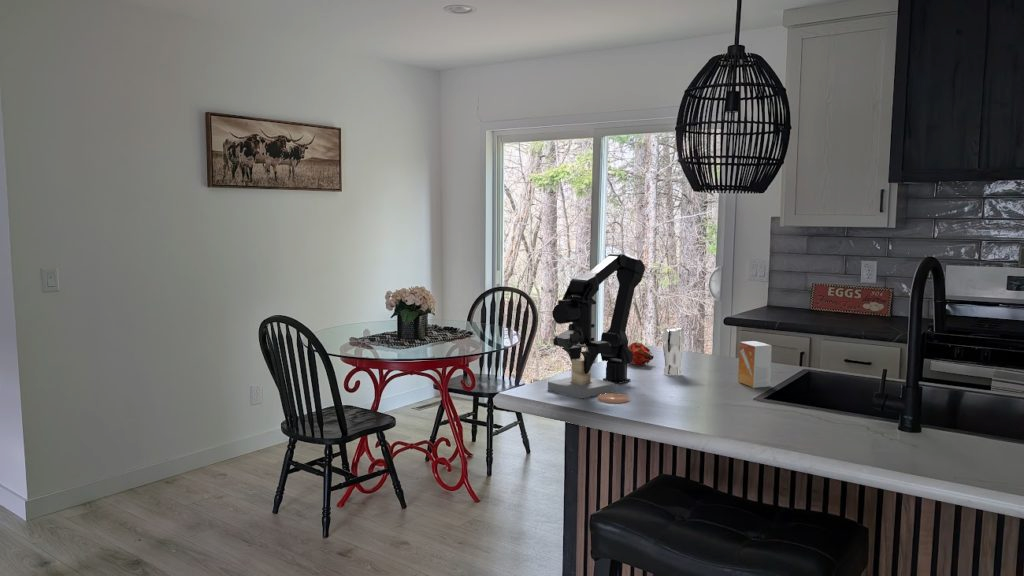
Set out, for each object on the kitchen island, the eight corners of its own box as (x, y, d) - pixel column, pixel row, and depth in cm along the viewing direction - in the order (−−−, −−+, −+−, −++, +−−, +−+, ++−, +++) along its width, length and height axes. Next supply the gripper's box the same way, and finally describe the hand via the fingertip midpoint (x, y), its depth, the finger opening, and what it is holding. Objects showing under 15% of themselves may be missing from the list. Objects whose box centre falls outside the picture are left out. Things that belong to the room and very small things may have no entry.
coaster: (612, 393, 214) (612, 391, 214) (636, 399, 207) (636, 397, 207) (591, 398, 209) (591, 396, 209) (614, 405, 202) (614, 402, 202)
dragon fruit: (629, 365, 263) (648, 376, 252) (614, 353, 259) (633, 364, 248) (642, 346, 263) (662, 356, 253) (628, 334, 259) (648, 344, 249)
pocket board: (580, 383, 228) (580, 375, 227) (614, 391, 217) (614, 383, 217) (547, 389, 219) (547, 381, 219) (581, 399, 208) (581, 390, 208)
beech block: (580, 383, 221) (581, 357, 220) (590, 385, 217) (590, 359, 217) (571, 385, 218) (571, 359, 217) (580, 387, 215) (581, 361, 214)
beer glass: (686, 373, 242) (687, 328, 241) (679, 377, 236) (680, 331, 235) (666, 371, 246) (667, 327, 244) (658, 374, 240) (660, 329, 239)
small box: (737, 382, 230) (739, 341, 229) (754, 381, 232) (756, 340, 231) (753, 388, 222) (754, 345, 221) (770, 386, 224) (772, 345, 223)
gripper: (540, 319, 218) (540, 370, 219) (585, 326, 203) (584, 381, 205) (567, 316, 225) (566, 365, 226) (612, 323, 211) (611, 376, 212)
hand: (581, 372), depth 217 cm, fingers closed on beech block, 4 cm apart
